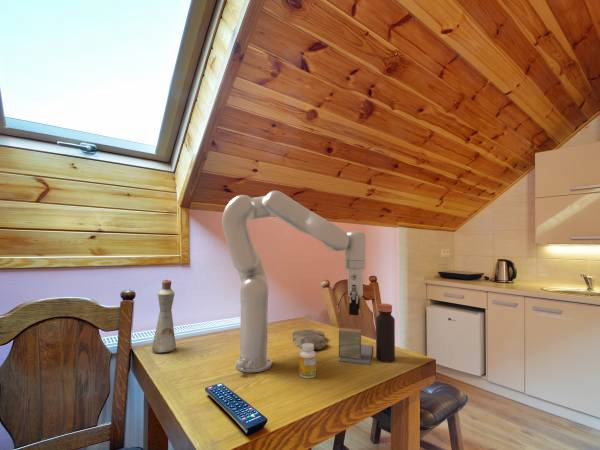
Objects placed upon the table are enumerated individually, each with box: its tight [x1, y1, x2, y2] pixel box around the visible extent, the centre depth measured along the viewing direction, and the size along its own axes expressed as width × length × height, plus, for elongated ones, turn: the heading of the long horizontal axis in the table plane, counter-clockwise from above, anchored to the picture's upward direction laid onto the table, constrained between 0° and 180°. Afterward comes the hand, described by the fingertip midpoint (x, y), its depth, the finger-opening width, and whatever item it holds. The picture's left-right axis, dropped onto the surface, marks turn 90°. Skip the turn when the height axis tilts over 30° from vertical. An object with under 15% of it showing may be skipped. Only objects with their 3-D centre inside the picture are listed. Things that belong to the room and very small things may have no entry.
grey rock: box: [292, 329, 327, 350], centre depth 133 cm, size 14×5×20 cm
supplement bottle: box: [298, 343, 317, 379], centre depth 102 cm, size 5×5×10 cm
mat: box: [339, 343, 373, 366], centre depth 122 cm, size 20×11×1 cm, turn 165°
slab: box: [338, 326, 362, 359], centre depth 117 cm, size 4×8×10 cm, turn 76°
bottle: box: [151, 278, 177, 354], centre depth 124 cm, size 9×9×28 cm
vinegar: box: [375, 303, 396, 363], centre depth 117 cm, size 7×7×20 cm
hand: (354, 311), depth 114 cm, fingers open, 9 cm apart
